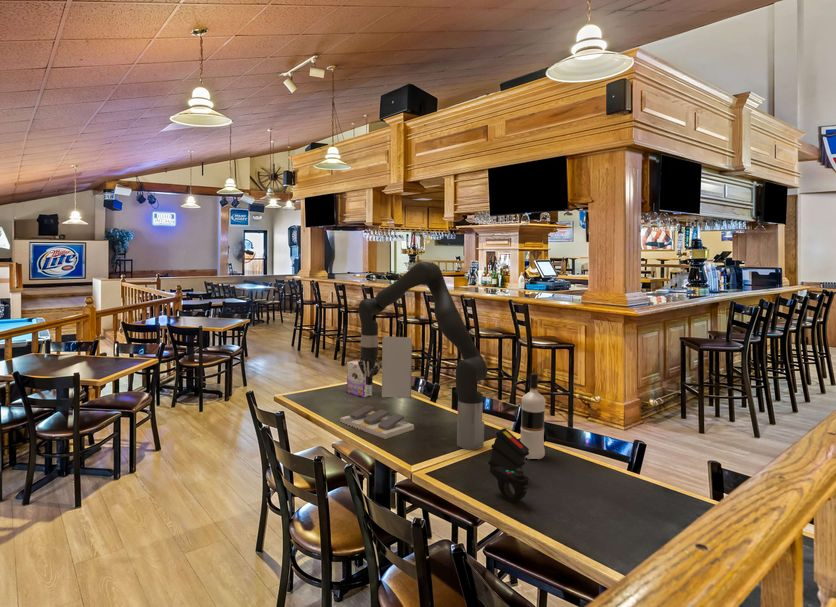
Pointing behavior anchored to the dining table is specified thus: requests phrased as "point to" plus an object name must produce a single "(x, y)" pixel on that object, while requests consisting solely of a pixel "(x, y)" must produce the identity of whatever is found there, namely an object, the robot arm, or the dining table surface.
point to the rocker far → (362, 412)
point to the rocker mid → (376, 416)
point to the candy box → (357, 380)
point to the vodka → (533, 420)
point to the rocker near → (390, 421)
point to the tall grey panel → (396, 366)
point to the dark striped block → (507, 451)
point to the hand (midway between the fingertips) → (369, 384)
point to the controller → (511, 482)
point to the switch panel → (374, 429)
